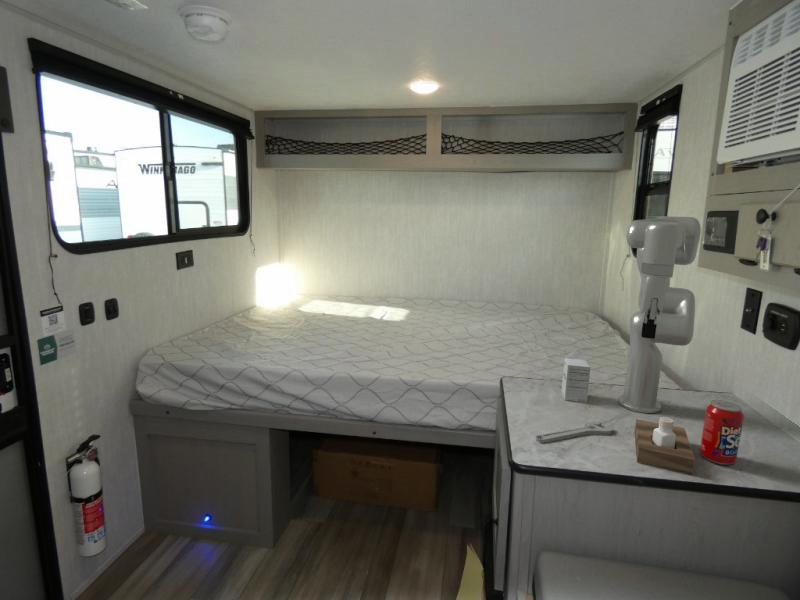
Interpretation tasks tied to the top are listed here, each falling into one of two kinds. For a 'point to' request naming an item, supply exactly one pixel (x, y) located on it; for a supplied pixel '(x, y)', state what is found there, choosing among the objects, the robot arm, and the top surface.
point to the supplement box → (575, 379)
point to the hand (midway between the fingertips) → (647, 337)
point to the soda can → (722, 432)
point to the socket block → (663, 449)
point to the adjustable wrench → (576, 432)
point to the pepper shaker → (664, 433)
